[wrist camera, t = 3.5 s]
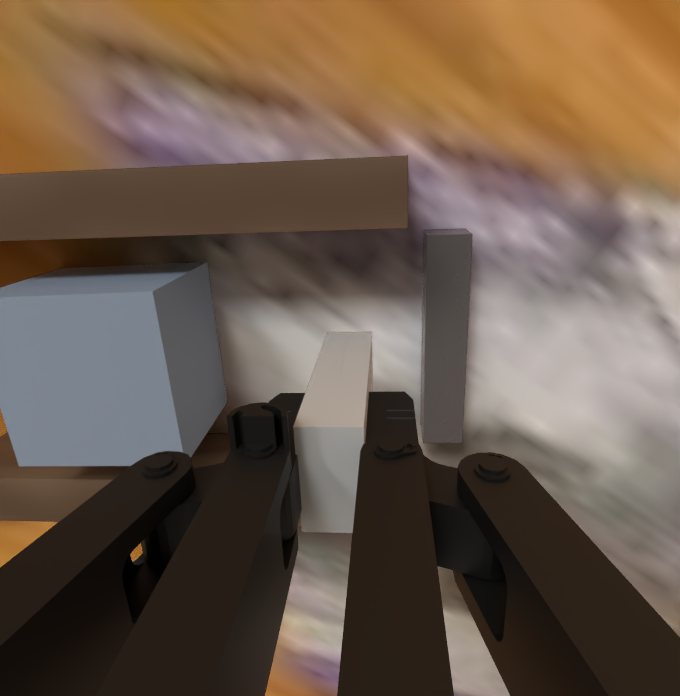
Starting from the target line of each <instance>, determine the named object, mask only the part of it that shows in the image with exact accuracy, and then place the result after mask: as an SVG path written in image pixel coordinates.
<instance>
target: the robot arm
mask: <svg viewBox="0 0 680 696" xmlns="http://www.w3.org/2000/svg"><path fill="white" fill-rule="evenodd" d="M227 423H228V431H229V438H230V446H231V450H230V452H229V454H228V456H227V458H226V460H225V461H224V462H223V463H219V464H215V465H210V466H204V467H198V468H194V467H193V461H192V458H191V457H190V456H189V455H188V454H185V453H182V452H179V451H163V452H157V453H154V454H152V455H149V456H147V457H144V458H142V459H141V460H139V461H137V462H136V463H134V464H133V465H132V466H130V467H129V468H128V469H126V470H125V471H124V472H123V473H121V474H120V475H119V476H117V477H116V478H115V479H114V480H112V481H111V482H110V483H108V484H107V485H106V486H105V487H103V488H102V489H101V490H99V491H98V492H97V493H96V494H94V495H93V496H92V497H90V498H89V499H88V500H87V501H85V502H84V503H83V504H81V505H80V506H79V507H78V508H76V509H75V510H74V511H72V512H71V513H70V514H69V515H67V516H66V517H65V518H63V519H62V520H61V521H60V522H58V523H57V524H56V525H54V526H53V527H52V528H51V529H49V530H48V531H47V532H45V533H44V534H43V535H42V536H40V537H39V538H38V539H36V540H35V541H34V542H33V543H31V544H30V545H29V546H28V547H26V548H25V549H24V550H22V551H21V552H20V553H19V554H17V555H16V556H15V557H13V558H12V559H11V560H10V561H8V562H7V563H6V564H4V565H3V566H2V567H1V568H0V696H265V692H266V688H267V684H268V679H269V675H270V670H271V666H272V662H273V657H274V653H275V648H276V644H277V639H278V635H279V631H280V626H281V622H282V617H283V613H284V609H285V604H286V600H287V595H288V591H289V587H290V582H291V578H292V573H293V569H294V565H295V560H296V556H297V551H298V535H297V526H298V522H299V518H300V517H301V529H302V532H326V533H353V534H352V545H351V555H350V566H349V577H348V587H347V598H346V608H345V619H344V630H343V640H342V651H341V662H340V672H339V683H338V694H337V696H454V693H453V686H452V678H451V670H450V662H449V654H448V647H447V639H446V631H445V623H444V615H443V608H442V600H441V592H440V584H439V576H438V569H437V566H440V567H444V568H447V569H450V570H453V573H454V578H455V582H456V584H457V586H458V588H459V590H460V592H461V594H462V596H463V598H464V600H465V602H466V604H467V606H468V609H469V611H470V613H471V615H472V617H473V619H474V621H475V623H476V625H477V627H478V629H479V631H480V633H481V636H482V638H483V640H484V642H485V644H486V646H487V648H488V650H489V652H490V654H491V656H492V658H493V660H494V662H495V665H496V667H497V669H498V671H499V673H500V675H501V677H502V679H503V681H504V683H505V685H506V687H507V689H508V692H509V694H510V696H680V637H679V636H678V635H677V634H676V633H675V632H674V631H673V630H672V628H671V627H670V626H669V625H668V624H667V623H666V622H665V621H664V620H663V619H662V617H661V616H660V615H659V614H658V613H657V612H656V611H655V610H654V609H653V608H652V606H651V605H650V604H649V603H648V602H647V601H646V600H645V599H644V598H643V597H642V595H641V594H640V593H639V592H638V591H637V590H636V589H635V588H634V587H633V586H632V584H631V583H630V582H629V581H628V580H627V579H626V578H625V577H624V576H623V575H622V573H621V572H620V571H619V570H618V569H617V568H616V567H615V566H614V565H613V564H612V563H611V561H610V560H609V559H608V558H607V557H606V556H605V555H604V554H603V553H602V552H601V550H600V549H599V548H598V547H597V546H596V545H595V544H594V543H593V542H592V541H591V539H590V538H589V537H588V536H587V535H586V534H585V533H584V532H583V531H582V530H581V528H580V527H579V526H578V525H577V524H576V523H575V522H574V521H573V520H572V519H571V517H570V516H569V515H568V514H567V513H566V512H565V511H564V510H563V509H562V508H561V507H560V505H559V504H558V503H557V502H556V501H555V500H554V499H553V498H552V497H551V496H550V494H549V493H548V492H547V491H546V490H545V489H544V488H543V487H542V486H541V485H540V483H539V482H538V481H537V480H536V479H535V478H534V477H533V476H532V475H531V474H530V472H529V471H528V470H527V469H526V468H525V467H524V466H523V465H521V464H520V463H519V462H518V461H516V460H514V459H512V458H510V457H507V456H505V455H502V454H495V453H490V452H489V453H476V454H472V455H468V456H467V457H465V458H464V459H462V460H461V461H460V463H459V466H458V468H453V467H448V466H444V465H441V464H438V463H435V462H433V461H431V460H429V459H428V458H427V457H425V456H424V455H423V452H422V449H421V447H420V445H419V444H418V436H417V428H416V419H415V411H414V403H413V399H412V398H411V397H410V396H409V395H408V394H406V393H405V392H373V370H372V332H327V334H326V337H325V340H324V343H323V345H322V348H321V351H320V354H319V357H318V359H317V362H316V365H315V368H314V370H313V373H312V376H311V379H310V382H309V384H308V387H307V390H306V393H280V394H279V395H277V396H276V397H274V398H273V399H272V400H270V401H269V403H253V404H249V405H245V406H241V407H239V408H237V409H235V410H233V411H231V412H230V413H229V414H228V415H227ZM140 543H141V546H142V551H143V554H142V555H141V556H140V557H139V558H138V559H137V560H135V561H134V562H132V560H131V556H130V554H131V552H132V551H133V550H134V549H135V548H136V547H137V546H138V545H139V544H140Z"/></svg>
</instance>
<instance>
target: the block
mask: <svg viewBox="0 0 680 696" xmlns="http://www.w3.org/2000/svg"><path fill="white" fill-rule="evenodd" d="M227 402H228V400H227V393H226V387H225V380H224V373H223V367H222V360H221V353H220V346H219V340H218V333H217V326H216V319H215V313H214V306H213V299H212V292H211V286H210V279H209V272H208V266H207V262H195V263H172V264H148V265H125V266H102V267H79V268H61V269H57V270H54V271H51V272H48V273H45V274H42V275H38V276H35V277H32V278H29V279H26V280H23V281H19V282H16V283H13V284H10V285H7V286H4V287H0V409H1V412H2V415H3V418H4V422H5V425H6V428H7V431H8V434H9V437H10V440H11V443H12V446H13V449H14V452H15V456H16V459H17V462H18V465H19V466H132V465H133V464H134V463H136V462H137V461H139V460H141V459H142V458H144V457H147V456H149V455H152V454H154V453H157V452H163V451H179V452H182V453H185V454H188V455H189V456H190V457H192V455H193V453H194V452H195V450H196V449H197V447H198V446H199V444H200V443H201V441H202V440H203V438H204V437H205V435H206V434H207V432H208V431H209V429H210V428H211V426H212V425H213V423H214V421H215V420H216V418H217V417H218V415H219V414H220V412H221V411H222V409H223V408H224V406H225V405H226V403H227Z"/></svg>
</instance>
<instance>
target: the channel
mask: <svg viewBox="0 0 680 696" xmlns="http://www.w3.org/2000/svg"><path fill="white" fill-rule="evenodd" d="M389 228H408V156H390V157H368V158H346V159H325V160H303V161H281V162H259V163H237V164H215V165H193V166H171V167H149V168H127V169H105V170H83V171H61V172H39V173H17V174H0V241H20V240H51V239H82V238H112V237H143V236H174V235H205V234H235V233H266V232H297V231H327V230H358V229H389ZM230 450H231V446H230V438H229V434H206V435H205V437H204V438H203V440H202V441H201V443H200V444H199V446H198V447H197V449H196V450H195V452H194V453H193V455H192V457H191V458H192V461H193V467H194V468H198V467H204V466H210V465H215V464H219V463H223V462H224V461H225V460H226V458H227V456H228V454H229V452H230ZM129 467H130V466H19V465H18V462H17V459H16V456H15V452H14V449H13V446H12V443H11V440H10V437H9V434H8V433H6V434H4V435H3V436H1V437H0V520H7V521H53V522H60V521H61V520H62V519H63V518H65V517H66V516H67V515H69V514H70V513H71V512H72V511H74V510H75V509H76V508H78V507H79V506H80V505H81V504H83V503H84V502H85V501H87V500H88V499H89V498H90V497H92V496H93V495H94V494H96V493H97V492H98V491H99V490H101V489H102V488H103V487H105V486H106V485H107V484H108V483H110V482H111V481H112V480H114V479H115V478H116V477H117V476H119V475H120V474H121V473H123V472H124V471H125V470H126V469H128V468H129ZM297 527H301V517H300V518H299V522H298V526H297Z"/></svg>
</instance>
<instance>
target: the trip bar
mask: <svg viewBox="0 0 680 696" xmlns="http://www.w3.org/2000/svg"><path fill="white" fill-rule="evenodd" d="M471 253H472V233H470V232H469V231H468V230H466V229H441V230H424V235H423V296H422V357H421V417H420V425H421V432H422V438H423V443H462V434H463V414H464V394H465V374H466V354H467V334H468V314H469V293H470V273H471Z"/></svg>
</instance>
